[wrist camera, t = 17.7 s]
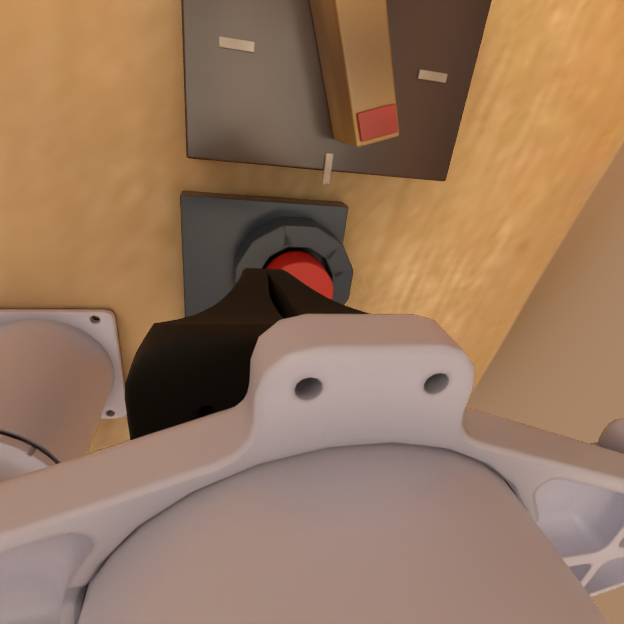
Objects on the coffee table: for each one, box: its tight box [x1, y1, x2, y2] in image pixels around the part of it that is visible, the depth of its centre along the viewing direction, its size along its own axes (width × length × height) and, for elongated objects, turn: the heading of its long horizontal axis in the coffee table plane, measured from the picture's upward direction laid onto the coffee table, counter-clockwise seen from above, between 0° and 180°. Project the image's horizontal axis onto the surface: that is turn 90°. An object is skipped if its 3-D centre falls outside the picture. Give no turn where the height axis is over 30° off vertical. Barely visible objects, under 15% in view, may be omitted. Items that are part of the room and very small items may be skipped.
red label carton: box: [310, 0, 399, 147], centre depth 15 cm, size 6×2×4 cm, turn 13°
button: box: [266, 251, 333, 300], centre depth 21 cm, size 4×4×2 cm
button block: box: [180, 191, 353, 317], centre depth 22 cm, size 9×8×3 cm
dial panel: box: [181, 0, 492, 184], centre depth 18 cm, size 13×10×3 cm
